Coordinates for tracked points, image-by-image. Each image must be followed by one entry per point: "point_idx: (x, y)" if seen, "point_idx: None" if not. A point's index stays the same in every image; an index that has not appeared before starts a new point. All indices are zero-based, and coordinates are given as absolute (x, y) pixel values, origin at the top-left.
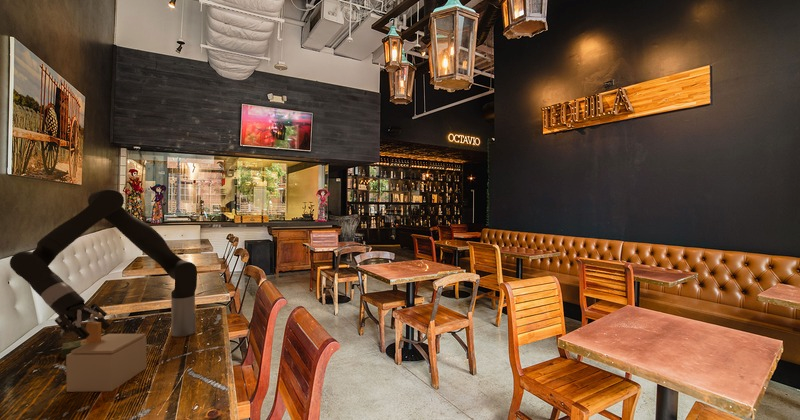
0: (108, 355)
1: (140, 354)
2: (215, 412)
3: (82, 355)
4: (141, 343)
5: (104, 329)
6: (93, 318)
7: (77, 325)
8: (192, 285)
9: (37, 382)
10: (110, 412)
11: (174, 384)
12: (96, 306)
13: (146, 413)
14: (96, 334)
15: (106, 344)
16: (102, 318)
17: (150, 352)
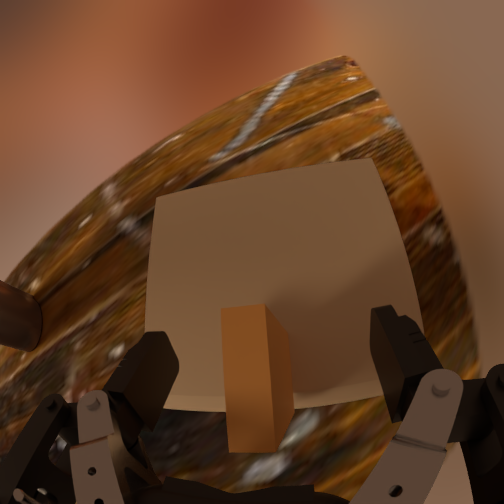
0: (380, 178)
1: None
2: (353, 62)
3: (416, 293)
4: None
5: (177, 368)
6: (141, 464)
7: (451, 391)
8: None
9: None
10: (421, 168)
11: (294, 135)
12: (5, 486)
13: (395, 117)
14: (283, 339)
15: (311, 253)
16: (108, 397)
17: (110, 336)
